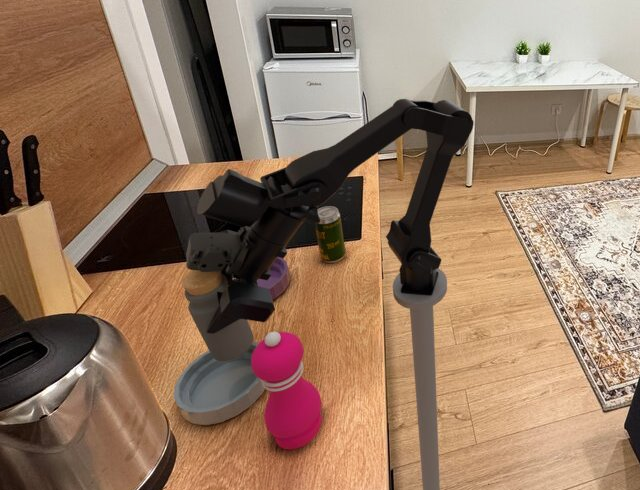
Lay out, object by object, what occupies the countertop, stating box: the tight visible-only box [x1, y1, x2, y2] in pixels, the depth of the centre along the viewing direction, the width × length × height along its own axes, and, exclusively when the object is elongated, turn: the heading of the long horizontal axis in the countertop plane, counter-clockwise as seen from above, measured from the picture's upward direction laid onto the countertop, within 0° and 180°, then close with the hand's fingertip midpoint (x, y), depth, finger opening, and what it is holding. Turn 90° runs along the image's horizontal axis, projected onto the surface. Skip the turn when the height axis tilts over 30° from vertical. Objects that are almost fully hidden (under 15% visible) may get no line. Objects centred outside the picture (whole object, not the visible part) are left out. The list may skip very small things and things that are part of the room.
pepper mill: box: [251, 331, 322, 451], centre depth 57 cm, size 7×7×20 cm
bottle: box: [181, 270, 255, 361], centre depth 63 cm, size 6×6×15 cm
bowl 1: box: [173, 340, 266, 426], centre depth 66 cm, size 12×12×4 cm
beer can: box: [313, 205, 347, 264], centre depth 92 cm, size 5×5×12 cm
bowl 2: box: [257, 257, 291, 300], centre depth 84 cm, size 12×12×4 cm
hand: (208, 318), depth 63 cm, fingers closed on bottle, 6 cm apart
